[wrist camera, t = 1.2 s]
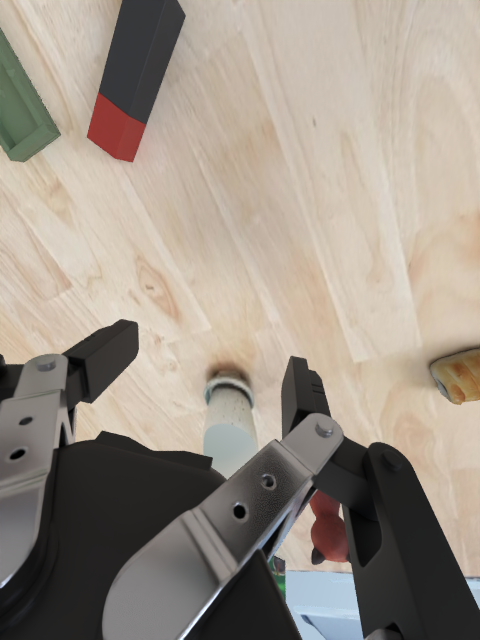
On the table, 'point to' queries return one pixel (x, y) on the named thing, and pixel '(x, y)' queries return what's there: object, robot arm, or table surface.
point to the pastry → (458, 376)
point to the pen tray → (21, 110)
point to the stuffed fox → (328, 531)
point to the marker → (134, 74)
